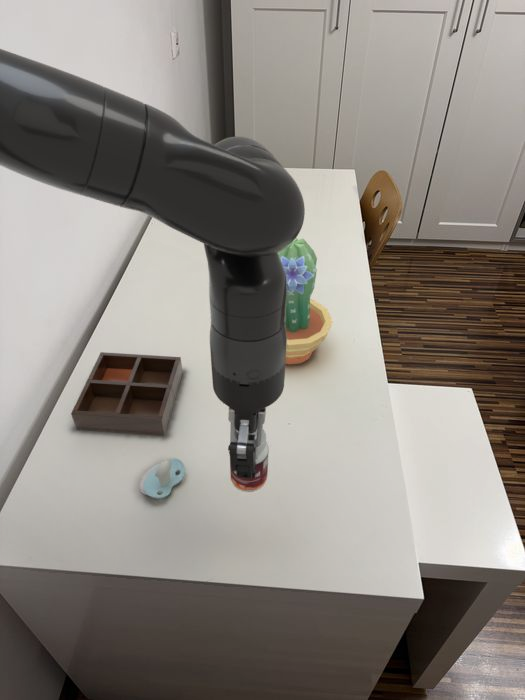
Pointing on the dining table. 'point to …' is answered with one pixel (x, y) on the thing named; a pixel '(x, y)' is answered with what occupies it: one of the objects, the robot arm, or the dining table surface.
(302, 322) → the potted cactus
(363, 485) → the dining table surface
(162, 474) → the pacifier
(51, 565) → the dining table surface
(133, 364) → the grid
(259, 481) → the pill bottle
